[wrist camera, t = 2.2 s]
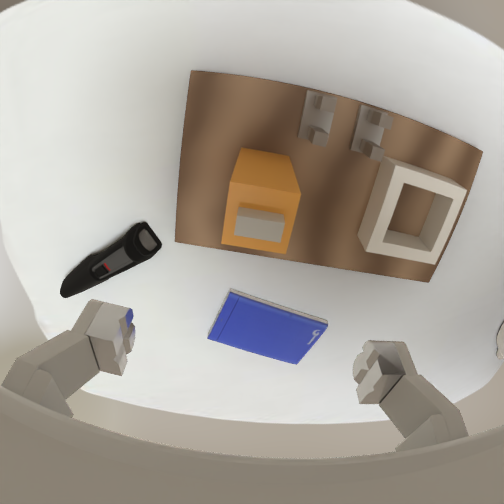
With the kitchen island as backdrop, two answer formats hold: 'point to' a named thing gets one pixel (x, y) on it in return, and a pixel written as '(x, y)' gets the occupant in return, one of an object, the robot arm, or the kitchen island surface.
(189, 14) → the kitchen island surface
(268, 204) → the connector plug
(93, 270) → the electric trimmer
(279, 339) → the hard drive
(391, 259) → the board
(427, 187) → the end holder
